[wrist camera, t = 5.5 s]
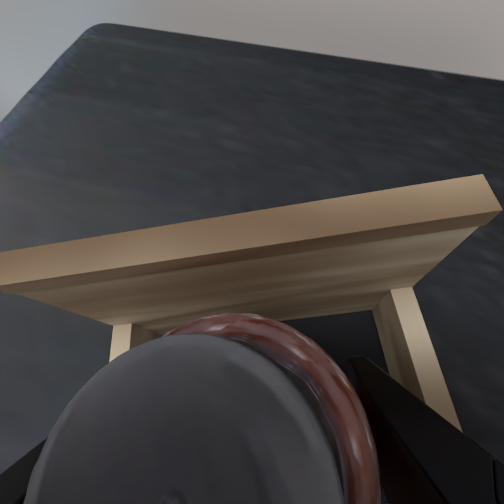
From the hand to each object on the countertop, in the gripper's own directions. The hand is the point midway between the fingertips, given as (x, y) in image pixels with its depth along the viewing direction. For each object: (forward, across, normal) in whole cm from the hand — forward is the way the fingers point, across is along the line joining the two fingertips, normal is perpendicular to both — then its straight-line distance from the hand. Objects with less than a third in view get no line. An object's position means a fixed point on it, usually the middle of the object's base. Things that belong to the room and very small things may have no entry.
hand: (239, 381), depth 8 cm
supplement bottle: (+4, 0, +6) cm, 7 cm away
